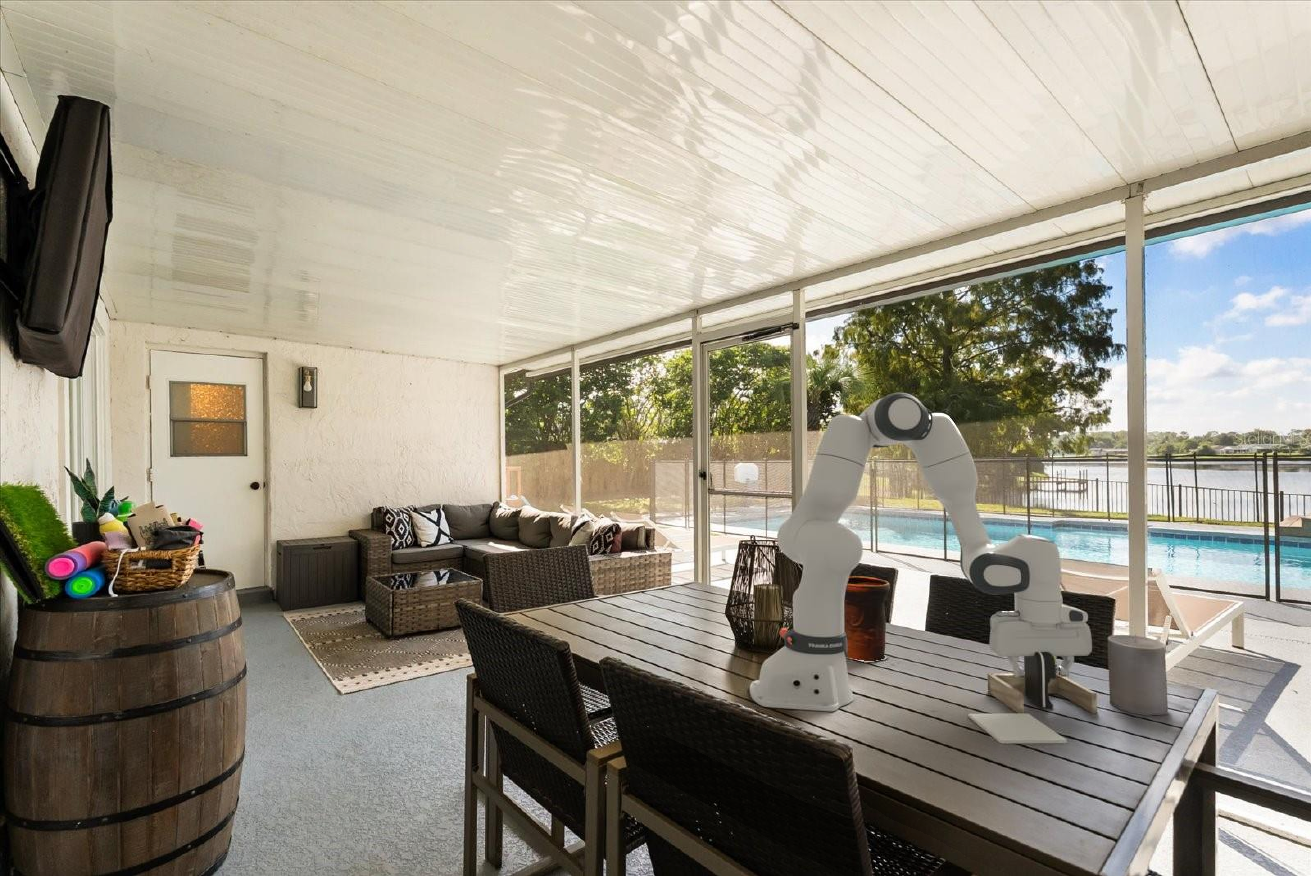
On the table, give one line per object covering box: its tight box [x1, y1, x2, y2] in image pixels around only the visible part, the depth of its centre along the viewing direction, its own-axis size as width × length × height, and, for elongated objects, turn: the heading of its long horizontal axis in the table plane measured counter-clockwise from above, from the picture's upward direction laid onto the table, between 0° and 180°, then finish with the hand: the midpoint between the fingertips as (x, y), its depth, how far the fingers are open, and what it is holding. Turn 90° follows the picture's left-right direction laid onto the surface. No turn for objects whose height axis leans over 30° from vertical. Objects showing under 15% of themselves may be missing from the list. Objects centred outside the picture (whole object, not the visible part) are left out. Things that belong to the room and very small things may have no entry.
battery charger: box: [1023, 651, 1057, 709], centre depth 133 cm, size 7×4×11 cm, turn 173°
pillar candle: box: [1107, 634, 1169, 716], centre depth 130 cm, size 10×10×15 cm
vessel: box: [844, 576, 891, 661], centre depth 167 cm, size 14×14×20 cm
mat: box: [967, 713, 1068, 744], centre depth 120 cm, size 12×12×1 cm
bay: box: [987, 672, 1098, 714], centre depth 133 cm, size 16×12×4 cm
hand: (1041, 676), depth 133 cm, fingers open, 8 cm apart
